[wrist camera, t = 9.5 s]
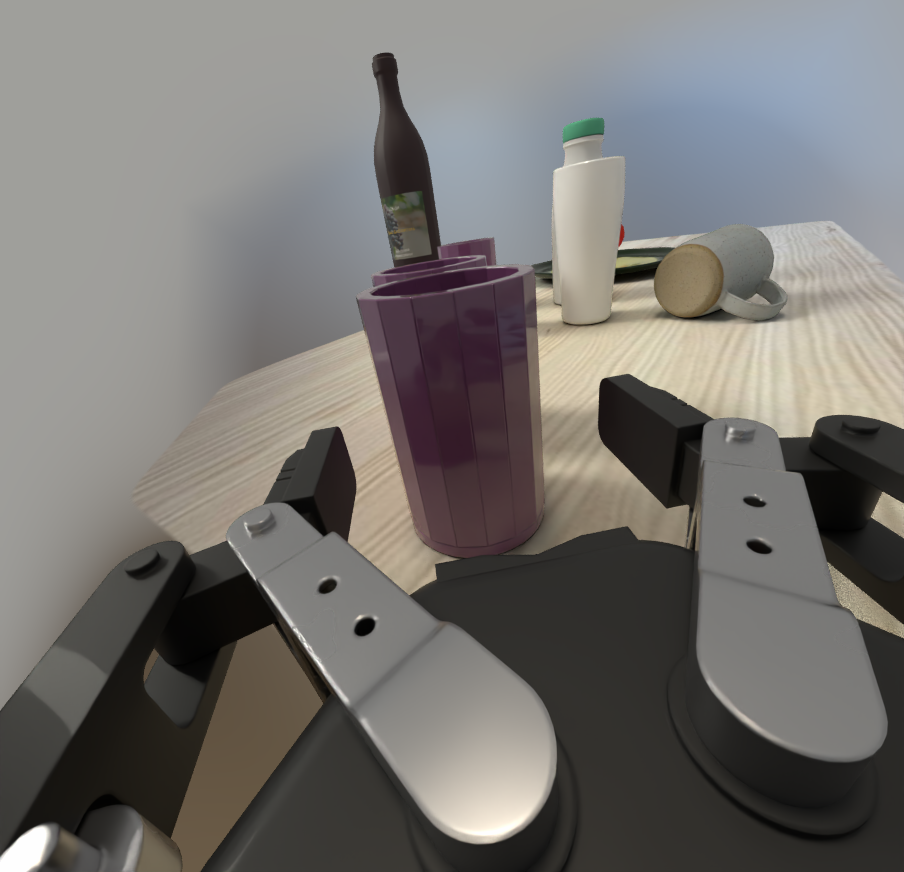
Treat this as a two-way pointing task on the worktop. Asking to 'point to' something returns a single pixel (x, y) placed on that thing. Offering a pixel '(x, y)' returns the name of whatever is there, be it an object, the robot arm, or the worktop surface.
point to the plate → (620, 261)
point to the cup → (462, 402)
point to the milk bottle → (579, 147)
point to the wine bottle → (403, 174)
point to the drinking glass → (588, 235)
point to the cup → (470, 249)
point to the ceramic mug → (720, 275)
